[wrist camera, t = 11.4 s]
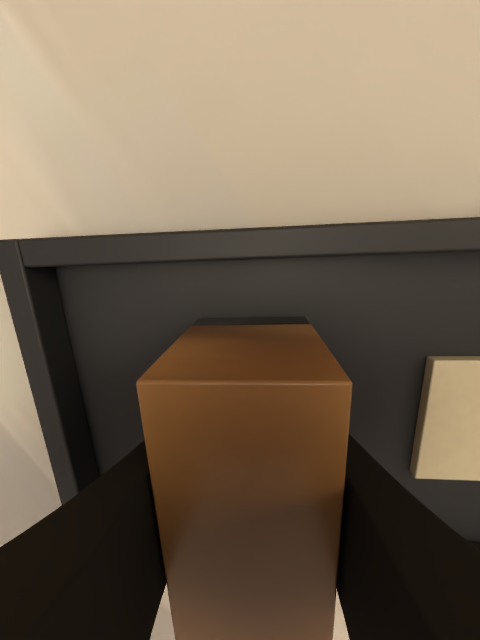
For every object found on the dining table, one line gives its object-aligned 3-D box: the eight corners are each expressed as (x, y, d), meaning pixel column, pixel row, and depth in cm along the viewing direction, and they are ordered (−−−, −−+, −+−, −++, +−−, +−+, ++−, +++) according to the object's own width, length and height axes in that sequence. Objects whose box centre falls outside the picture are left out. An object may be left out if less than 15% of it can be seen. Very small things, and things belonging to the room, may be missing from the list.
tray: (102, 522, 12) (77, 564, 10) (39, 242, 9) (-11, 240, 7) (536, 546, 10) (588, 601, 9) (647, 214, 7) (759, 203, 6)
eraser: (211, 490, 10) (176, 654, 6) (197, 318, 9) (133, 381, 4) (301, 494, 10) (330, 670, 6) (306, 316, 8) (353, 382, 4)
